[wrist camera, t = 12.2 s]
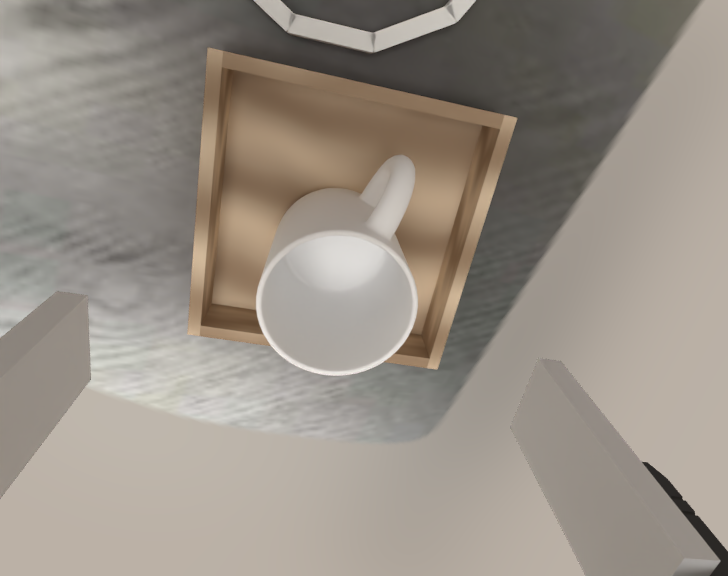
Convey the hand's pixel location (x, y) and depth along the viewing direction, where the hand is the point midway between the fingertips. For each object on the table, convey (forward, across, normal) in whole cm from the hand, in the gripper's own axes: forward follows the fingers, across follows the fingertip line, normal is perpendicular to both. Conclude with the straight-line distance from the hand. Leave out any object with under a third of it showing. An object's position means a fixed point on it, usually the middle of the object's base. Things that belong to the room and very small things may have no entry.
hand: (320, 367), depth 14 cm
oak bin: (+21, +1, -1) cm, 21 cm away
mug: (+20, +2, -1) cm, 20 cm away
